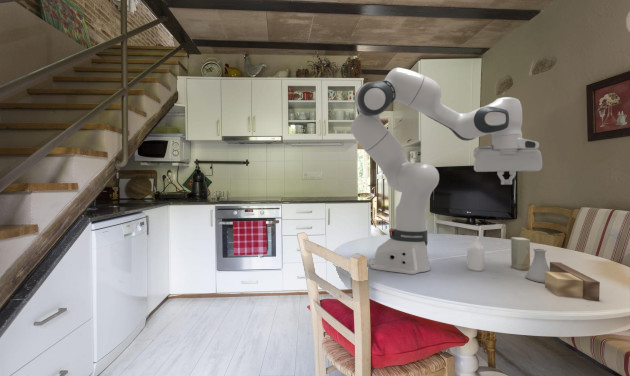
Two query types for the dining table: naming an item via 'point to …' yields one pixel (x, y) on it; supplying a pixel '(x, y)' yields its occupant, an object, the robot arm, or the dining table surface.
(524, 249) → the box
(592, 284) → the walnut board
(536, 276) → the flask
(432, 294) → the dining table surface
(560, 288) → the oak block
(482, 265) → the white bottle
